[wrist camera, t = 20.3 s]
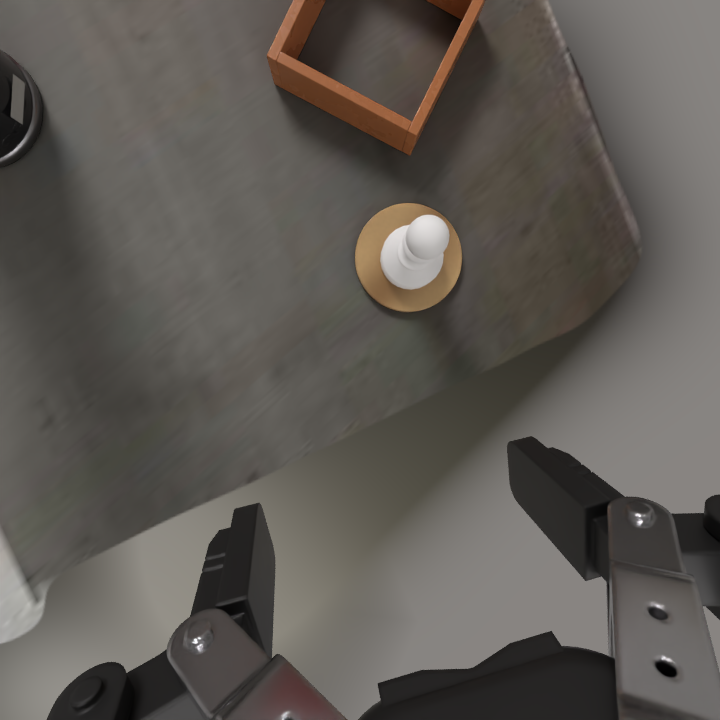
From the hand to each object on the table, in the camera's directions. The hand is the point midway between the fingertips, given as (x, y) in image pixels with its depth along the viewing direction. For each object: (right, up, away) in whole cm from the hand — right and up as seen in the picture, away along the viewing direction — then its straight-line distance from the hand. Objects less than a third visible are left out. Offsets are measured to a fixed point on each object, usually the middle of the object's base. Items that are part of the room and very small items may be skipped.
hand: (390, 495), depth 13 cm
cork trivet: (+3, +13, +22) cm, 26 cm away
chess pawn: (+3, +13, +22) cm, 25 cm away
